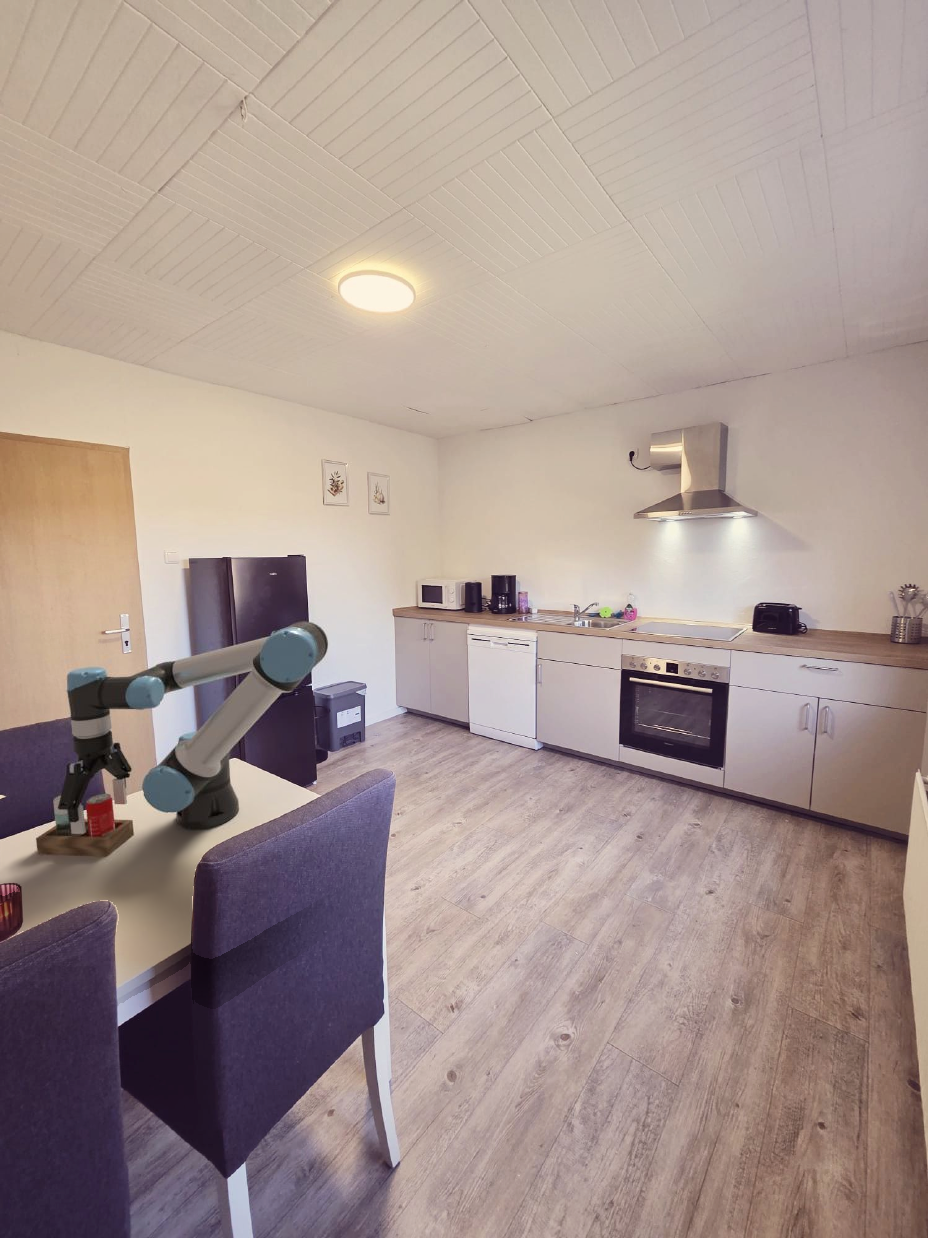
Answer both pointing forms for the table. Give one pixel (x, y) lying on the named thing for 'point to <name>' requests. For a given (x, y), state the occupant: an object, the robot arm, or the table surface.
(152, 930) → the table surface
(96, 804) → the beverage can
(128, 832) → the holder
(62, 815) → the transparent cylindrical container
